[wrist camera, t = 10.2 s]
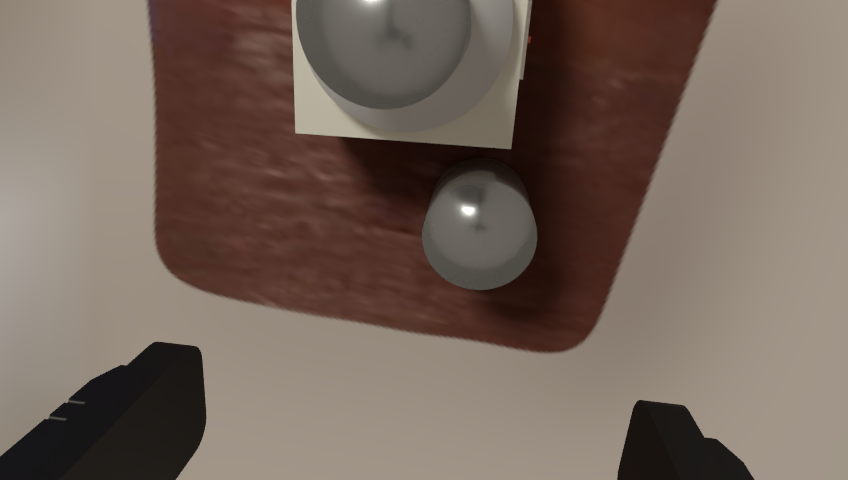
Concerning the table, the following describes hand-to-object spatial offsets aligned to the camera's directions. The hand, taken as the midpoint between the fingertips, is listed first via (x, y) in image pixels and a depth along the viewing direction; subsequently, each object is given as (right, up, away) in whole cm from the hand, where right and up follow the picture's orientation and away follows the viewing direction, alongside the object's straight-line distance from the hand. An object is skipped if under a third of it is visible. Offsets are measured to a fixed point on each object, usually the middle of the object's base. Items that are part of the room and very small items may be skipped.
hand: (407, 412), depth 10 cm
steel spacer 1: (0, +11, +10) cm, 15 cm away
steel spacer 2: (+3, +5, +18) cm, 19 cm away
